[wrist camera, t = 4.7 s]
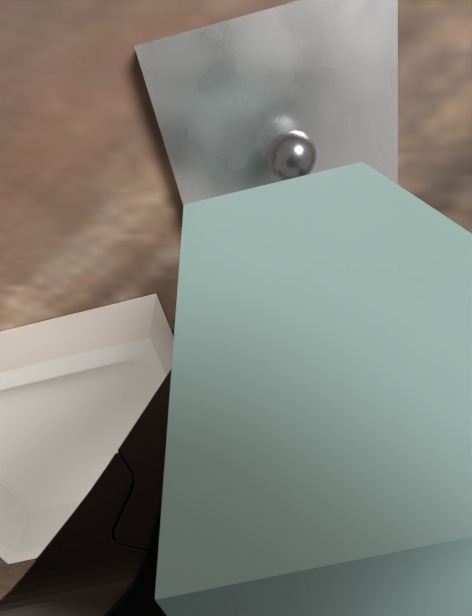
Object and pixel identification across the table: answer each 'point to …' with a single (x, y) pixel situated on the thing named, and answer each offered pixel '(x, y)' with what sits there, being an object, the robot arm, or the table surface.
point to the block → (319, 405)
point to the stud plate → (277, 95)
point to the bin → (71, 410)
